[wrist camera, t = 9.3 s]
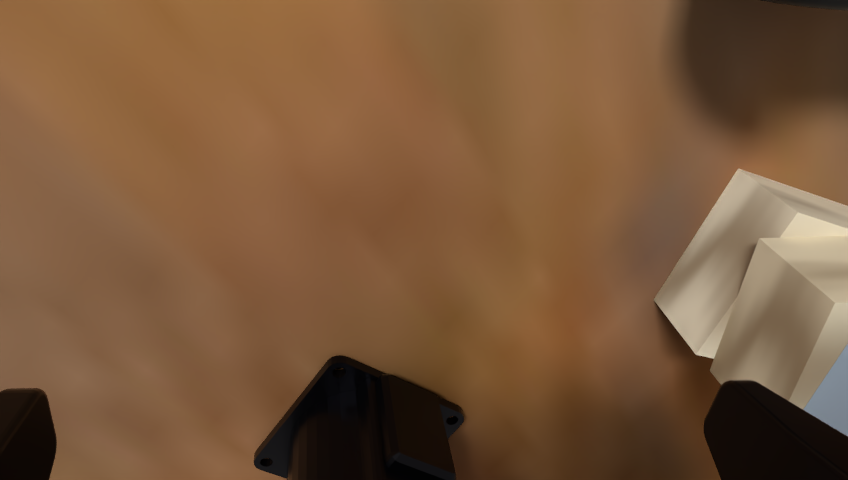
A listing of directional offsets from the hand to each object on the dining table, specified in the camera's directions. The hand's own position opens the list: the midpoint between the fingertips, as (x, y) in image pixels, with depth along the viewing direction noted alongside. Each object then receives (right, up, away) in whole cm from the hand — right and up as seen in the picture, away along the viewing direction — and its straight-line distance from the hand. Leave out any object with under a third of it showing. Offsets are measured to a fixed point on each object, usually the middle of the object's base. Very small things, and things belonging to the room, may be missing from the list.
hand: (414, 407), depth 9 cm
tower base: (+13, +2, +17) cm, 21 cm away
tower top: (+13, 0, +14) cm, 19 cm away
